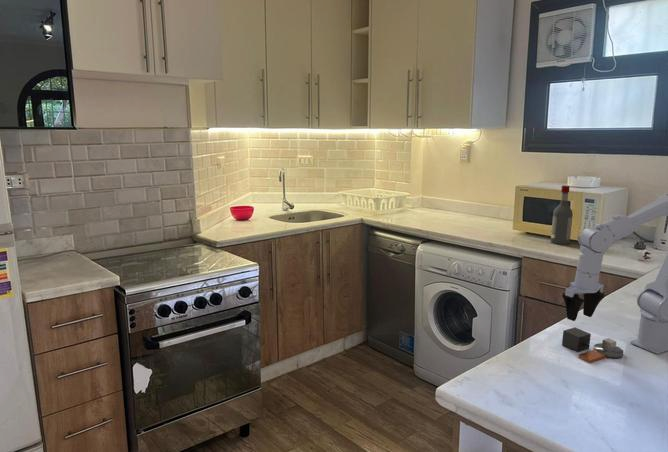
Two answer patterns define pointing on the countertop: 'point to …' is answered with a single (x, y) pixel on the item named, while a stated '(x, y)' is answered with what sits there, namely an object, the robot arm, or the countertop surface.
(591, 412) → the countertop surface
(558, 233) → the liquor
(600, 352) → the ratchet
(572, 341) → the dark grey cube
